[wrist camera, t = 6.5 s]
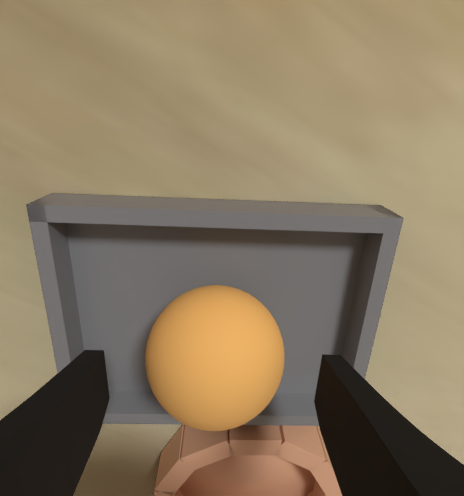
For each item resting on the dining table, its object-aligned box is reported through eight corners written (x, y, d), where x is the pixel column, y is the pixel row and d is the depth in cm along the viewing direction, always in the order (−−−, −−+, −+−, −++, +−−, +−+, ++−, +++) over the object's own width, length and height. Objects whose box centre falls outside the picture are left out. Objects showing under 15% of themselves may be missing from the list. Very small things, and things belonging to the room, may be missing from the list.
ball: (272, 362, 15) (289, 468, 11) (164, 361, 15) (134, 466, 11) (279, 264, 14) (303, 339, 9) (157, 262, 14) (118, 337, 9)
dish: (318, 521, 21) (328, 561, 19) (164, 521, 20) (158, 562, 19) (344, 406, 17) (358, 440, 15) (158, 403, 17) (150, 439, 15)
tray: (340, 395, 17) (353, 426, 15) (82, 392, 17) (67, 423, 15) (381, 205, 13) (403, 217, 12) (51, 193, 13) (25, 204, 11)
